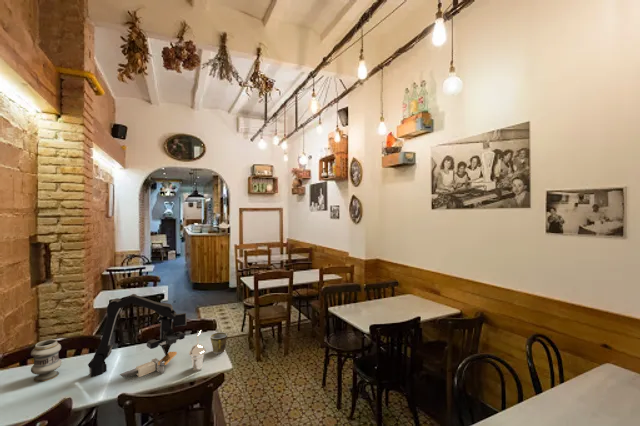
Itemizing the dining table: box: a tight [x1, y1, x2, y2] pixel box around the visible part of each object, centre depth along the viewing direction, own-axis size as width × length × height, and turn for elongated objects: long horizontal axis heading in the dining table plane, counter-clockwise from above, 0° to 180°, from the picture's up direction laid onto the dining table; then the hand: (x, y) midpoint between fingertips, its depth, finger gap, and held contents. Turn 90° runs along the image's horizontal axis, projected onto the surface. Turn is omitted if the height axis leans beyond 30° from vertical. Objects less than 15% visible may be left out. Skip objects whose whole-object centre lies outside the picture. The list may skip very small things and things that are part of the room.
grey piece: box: [119, 357, 166, 384], centre depth 160 cm, size 16×18×5 cm
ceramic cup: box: [209, 331, 228, 355], centre depth 186 cm, size 13×10×10 cm
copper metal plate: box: [158, 351, 178, 367], centre depth 166 cm, size 4×13×2 cm, turn 0°
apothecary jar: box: [30, 339, 63, 383], centre depth 159 cm, size 12×12×18 cm
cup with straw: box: [188, 329, 207, 373], centre depth 166 cm, size 8×9×20 cm
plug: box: [125, 360, 156, 378], centre depth 159 cm, size 13×4×4 cm, turn 141°
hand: (166, 355), depth 171 cm, fingers closed
